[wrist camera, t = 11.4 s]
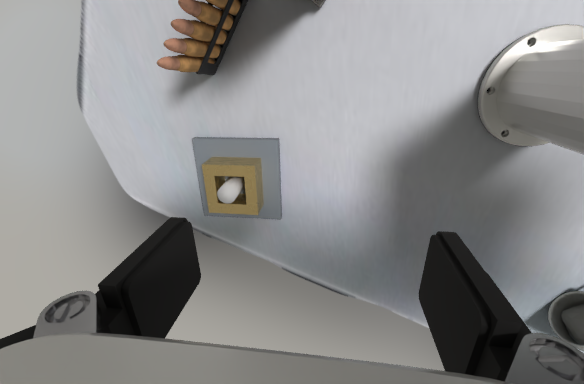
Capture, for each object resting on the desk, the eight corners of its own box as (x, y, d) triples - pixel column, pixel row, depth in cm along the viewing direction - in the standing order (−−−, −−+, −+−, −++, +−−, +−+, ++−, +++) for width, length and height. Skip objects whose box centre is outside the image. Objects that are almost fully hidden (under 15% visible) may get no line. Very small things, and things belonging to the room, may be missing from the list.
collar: (261, 157, 39) (254, 165, 35) (263, 203, 41) (258, 215, 38) (212, 156, 39) (201, 164, 36) (218, 201, 42) (209, 212, 39)
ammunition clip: (214, 75, 36) (163, 78, 25) (201, 66, 36) (144, 67, 25) (253, -12, 32) (212, -53, 21) (239, -23, 31) (190, -69, 21)
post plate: (279, 138, 38) (270, 150, 33) (281, 216, 43) (274, 237, 38) (195, 137, 40) (173, 148, 34) (206, 212, 45) (189, 232, 39)
